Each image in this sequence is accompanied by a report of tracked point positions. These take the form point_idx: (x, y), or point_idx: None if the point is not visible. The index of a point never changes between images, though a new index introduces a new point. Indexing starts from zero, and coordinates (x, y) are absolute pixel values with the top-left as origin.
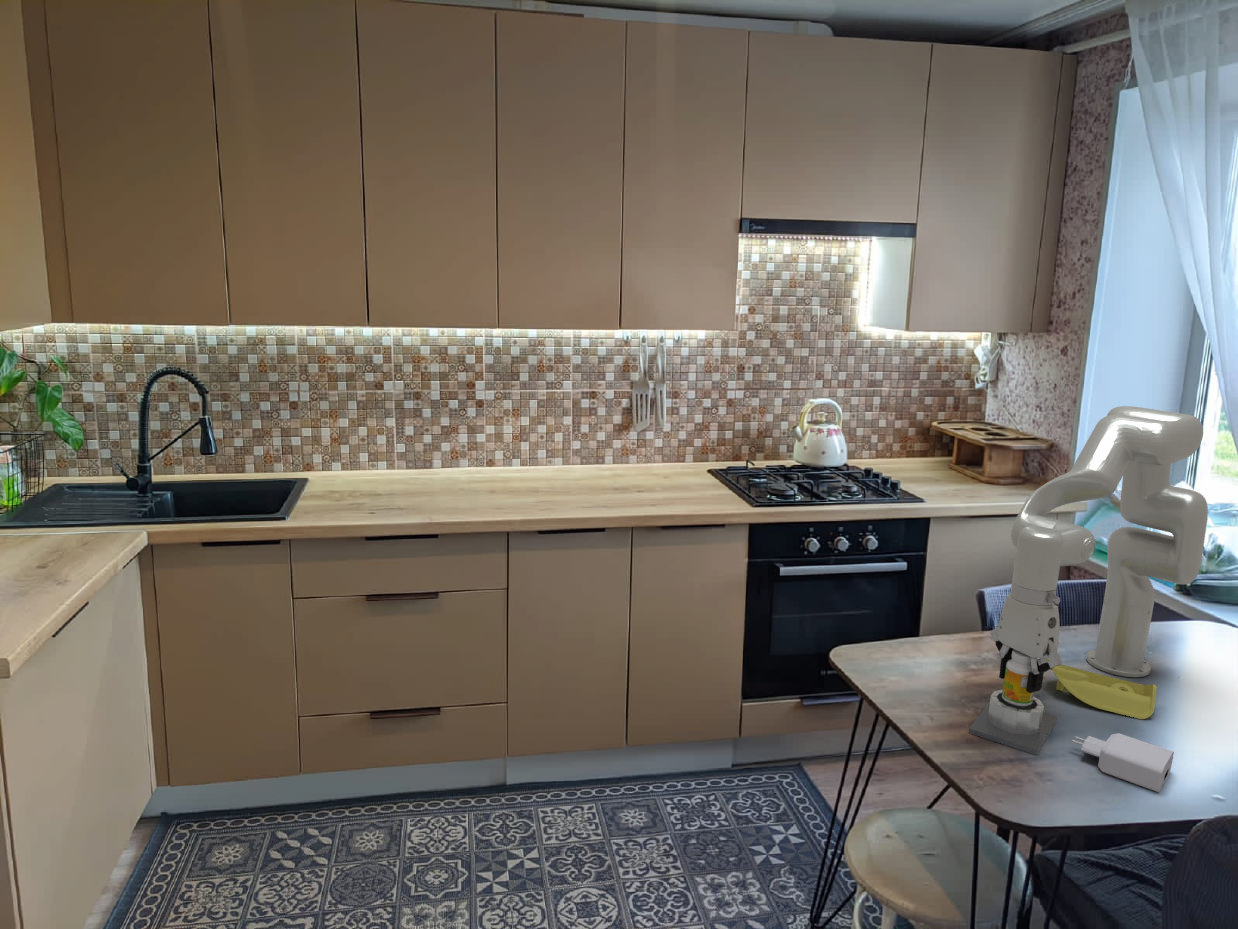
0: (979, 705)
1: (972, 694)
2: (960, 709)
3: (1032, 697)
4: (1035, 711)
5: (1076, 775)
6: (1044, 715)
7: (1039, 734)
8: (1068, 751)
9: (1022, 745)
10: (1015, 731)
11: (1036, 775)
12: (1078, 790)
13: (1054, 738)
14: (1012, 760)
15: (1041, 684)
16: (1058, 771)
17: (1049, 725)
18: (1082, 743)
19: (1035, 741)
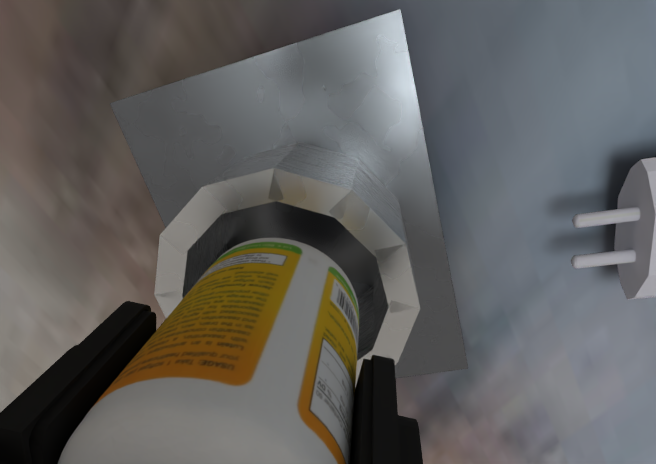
0: (124, 178)
1: (37, 107)
2: (120, 267)
3: (357, 331)
4: (403, 334)
5: (616, 371)
6: (350, 58)
7: (421, 258)
8: (542, 241)
9: (415, 375)
10: None
11: (510, 449)
12: (643, 439)
13: (460, 186)
14: (421, 426)
15: (417, 444)
16: (557, 389)
17: (415, 143)
18: (625, 261)
19: (435, 318)
